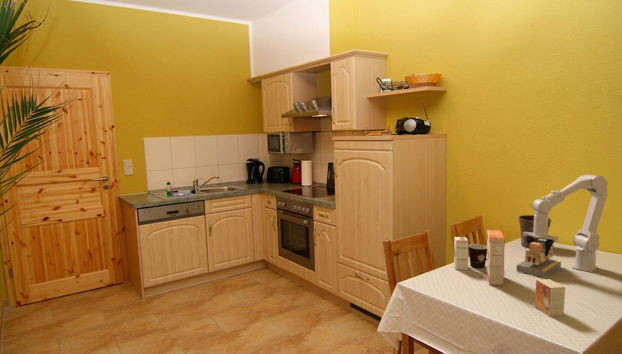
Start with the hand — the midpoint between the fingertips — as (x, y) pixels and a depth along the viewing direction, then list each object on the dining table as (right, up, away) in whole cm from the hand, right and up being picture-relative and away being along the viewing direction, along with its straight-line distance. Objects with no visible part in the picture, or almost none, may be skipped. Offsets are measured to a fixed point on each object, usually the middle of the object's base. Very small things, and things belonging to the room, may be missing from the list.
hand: (539, 253), depth 185 cm
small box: (-21, -13, -42) cm, 49 cm away
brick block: (-4, +1, -3) cm, 5 cm away
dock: (0, -7, +1) cm, 7 cm away
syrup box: (-35, -8, +5) cm, 36 cm away
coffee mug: (-25, -8, +6) cm, 27 cm away
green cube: (+4, +2, +3) cm, 5 cm away
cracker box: (-26, -10, -11) cm, 30 cm away
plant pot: (+18, -3, +38) cm, 42 cm away
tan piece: (0, -3, 0) cm, 3 cm away
